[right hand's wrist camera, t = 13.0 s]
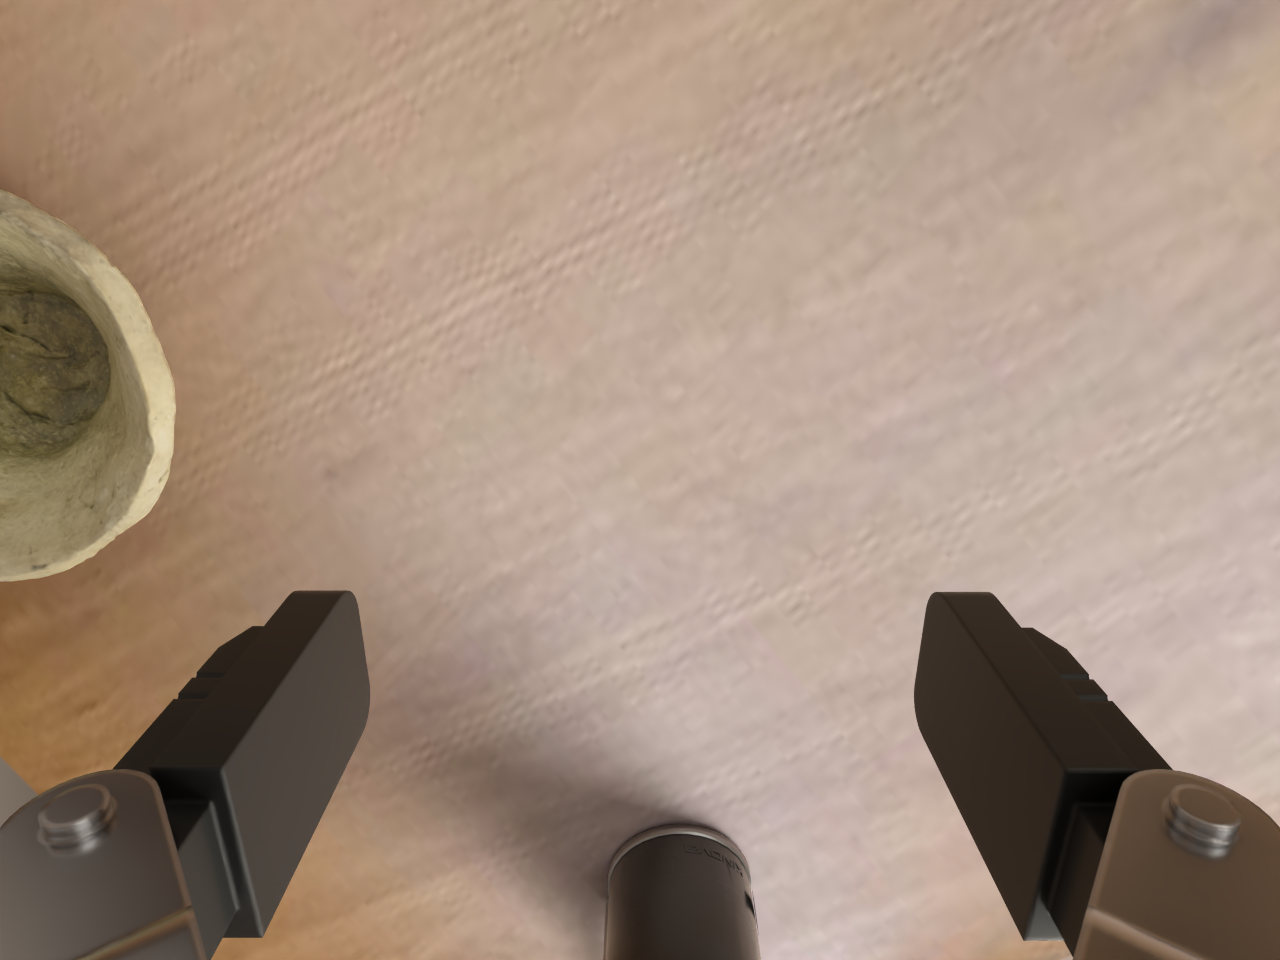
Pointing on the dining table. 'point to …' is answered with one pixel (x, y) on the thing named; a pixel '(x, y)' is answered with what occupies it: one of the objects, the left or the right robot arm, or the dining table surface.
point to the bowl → (73, 397)
